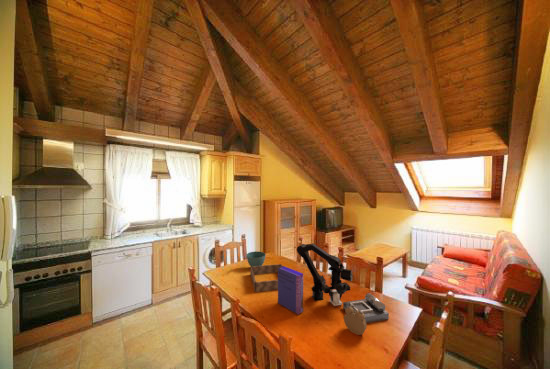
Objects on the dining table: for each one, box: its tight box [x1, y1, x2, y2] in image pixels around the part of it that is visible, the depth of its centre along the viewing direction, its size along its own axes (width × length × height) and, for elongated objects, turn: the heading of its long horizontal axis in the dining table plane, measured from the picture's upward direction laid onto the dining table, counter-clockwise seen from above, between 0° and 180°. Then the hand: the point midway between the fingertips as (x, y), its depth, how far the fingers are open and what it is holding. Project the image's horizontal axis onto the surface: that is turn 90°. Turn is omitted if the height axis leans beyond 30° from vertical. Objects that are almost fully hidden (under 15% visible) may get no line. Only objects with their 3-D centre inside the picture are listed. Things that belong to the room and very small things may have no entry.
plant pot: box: [246, 250, 267, 267], centre depth 197 cm, size 18×18×12 cm
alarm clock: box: [343, 305, 368, 336], centre depth 110 cm, size 11×5×15 cm, turn 47°
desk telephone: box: [342, 292, 390, 324], centre depth 127 cm, size 20×16×9 cm
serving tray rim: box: [249, 263, 283, 293], centre depth 169 cm, size 28×30×7 cm
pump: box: [328, 289, 343, 307], centre depth 139 cm, size 6×8×7 cm
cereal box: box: [277, 265, 304, 315], centre depth 134 cm, size 17×5×24 cm, turn 45°
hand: (335, 300), depth 138 cm, fingers closed on pump, 5 cm apart
